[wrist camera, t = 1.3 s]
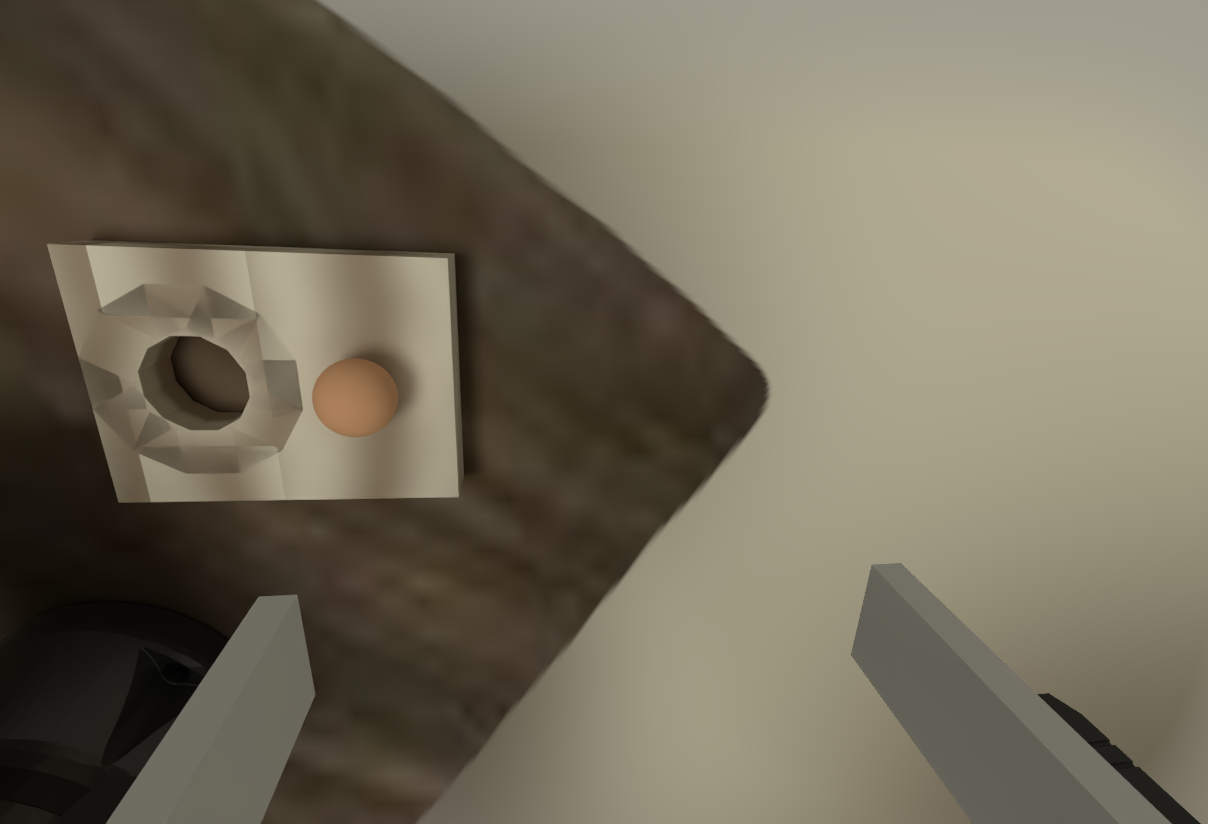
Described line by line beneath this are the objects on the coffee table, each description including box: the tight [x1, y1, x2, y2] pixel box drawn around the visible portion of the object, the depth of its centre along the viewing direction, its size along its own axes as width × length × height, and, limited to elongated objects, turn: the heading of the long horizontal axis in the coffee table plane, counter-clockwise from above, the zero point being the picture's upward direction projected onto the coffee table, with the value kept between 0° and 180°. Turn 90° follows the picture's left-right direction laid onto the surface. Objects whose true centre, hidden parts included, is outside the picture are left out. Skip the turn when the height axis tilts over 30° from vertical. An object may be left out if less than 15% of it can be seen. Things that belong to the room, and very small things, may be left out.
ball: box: [312, 358, 398, 437], centre depth 25 cm, size 4×4×4 cm
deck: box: [47, 240, 464, 503], centre depth 28 cm, size 16×12×2 cm
